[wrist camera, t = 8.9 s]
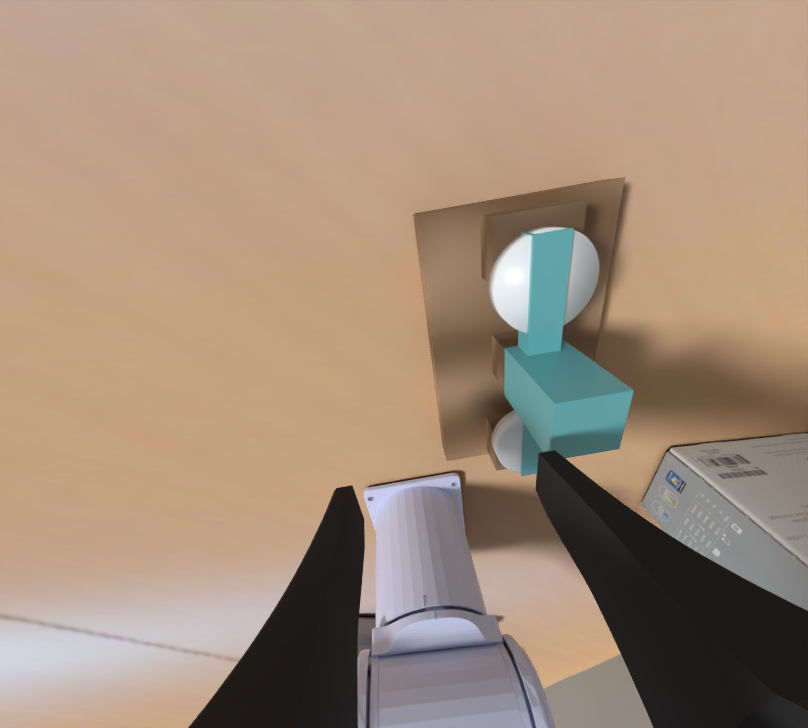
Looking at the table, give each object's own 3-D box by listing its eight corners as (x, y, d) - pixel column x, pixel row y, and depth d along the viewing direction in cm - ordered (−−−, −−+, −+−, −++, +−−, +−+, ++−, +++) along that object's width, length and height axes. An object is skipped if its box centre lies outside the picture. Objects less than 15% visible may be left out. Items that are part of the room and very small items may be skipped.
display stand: (569, 424, 23) (598, 457, 20) (442, 446, 23) (452, 483, 20) (603, 179, 15) (660, 172, 12) (413, 213, 15) (422, 215, 12)
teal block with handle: (560, 454, 20) (613, 526, 15) (492, 466, 20) (524, 541, 15) (591, 217, 13) (703, 222, 8) (487, 236, 13) (544, 251, 8)
